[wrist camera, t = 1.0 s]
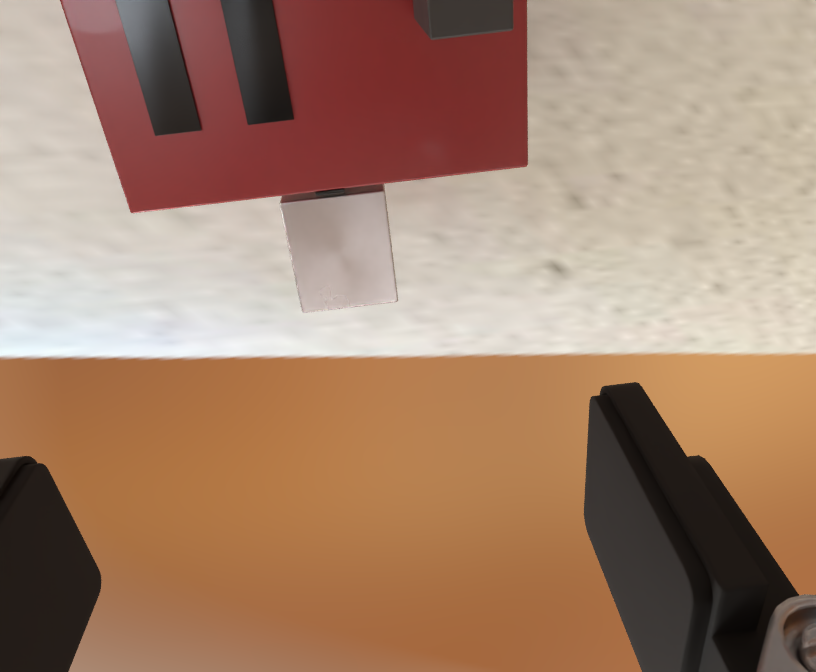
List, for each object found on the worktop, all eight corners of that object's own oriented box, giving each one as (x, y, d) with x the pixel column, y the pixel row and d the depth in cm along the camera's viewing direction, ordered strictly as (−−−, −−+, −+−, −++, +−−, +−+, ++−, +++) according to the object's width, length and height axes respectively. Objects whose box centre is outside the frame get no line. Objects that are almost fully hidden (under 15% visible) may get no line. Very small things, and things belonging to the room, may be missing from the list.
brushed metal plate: (283, 189, 20) (279, 202, 19) (383, 177, 20) (384, 190, 19) (304, 296, 21) (302, 313, 20) (396, 285, 21) (398, 302, 20)
